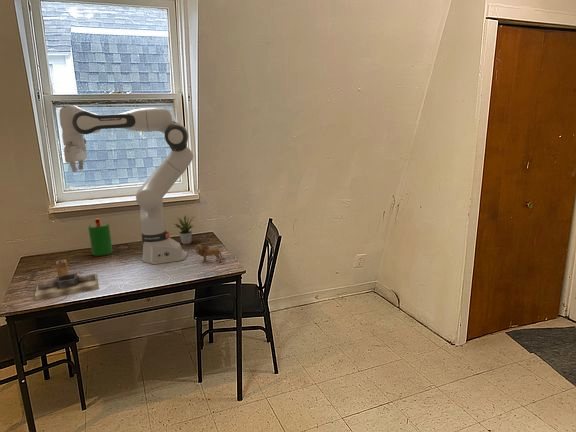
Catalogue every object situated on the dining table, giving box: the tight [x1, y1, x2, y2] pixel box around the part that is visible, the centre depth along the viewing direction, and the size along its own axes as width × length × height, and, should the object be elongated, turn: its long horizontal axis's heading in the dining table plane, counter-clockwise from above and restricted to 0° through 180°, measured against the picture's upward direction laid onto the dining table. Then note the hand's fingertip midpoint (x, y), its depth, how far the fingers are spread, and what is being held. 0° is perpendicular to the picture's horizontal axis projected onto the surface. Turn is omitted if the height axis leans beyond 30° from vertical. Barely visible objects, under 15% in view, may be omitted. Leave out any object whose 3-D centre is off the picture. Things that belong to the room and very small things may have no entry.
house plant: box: [172, 214, 196, 245], centre depth 245 cm, size 14×14×16 cm
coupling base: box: [34, 272, 100, 301], centre depth 185 cm, size 24×14×5 cm, turn 116°
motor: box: [87, 217, 113, 257], centre depth 229 cm, size 10×9×20 cm
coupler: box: [55, 259, 69, 277], centre depth 197 cm, size 4×4×8 cm
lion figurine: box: [194, 244, 226, 263], centre depth 213 cm, size 15×5×9 cm, turn 91°
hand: (78, 170), depth 203 cm, fingers open, 8 cm apart
